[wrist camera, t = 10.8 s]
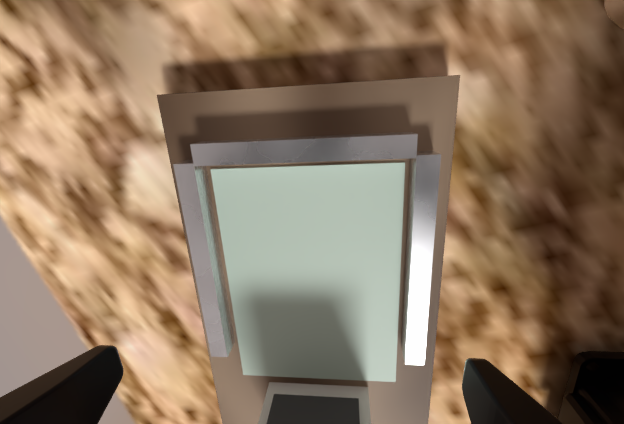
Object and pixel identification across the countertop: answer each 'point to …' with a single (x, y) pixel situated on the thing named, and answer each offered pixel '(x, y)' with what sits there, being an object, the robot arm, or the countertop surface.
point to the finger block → (315, 404)
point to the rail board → (319, 239)
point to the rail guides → (311, 149)
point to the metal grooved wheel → (615, 11)
